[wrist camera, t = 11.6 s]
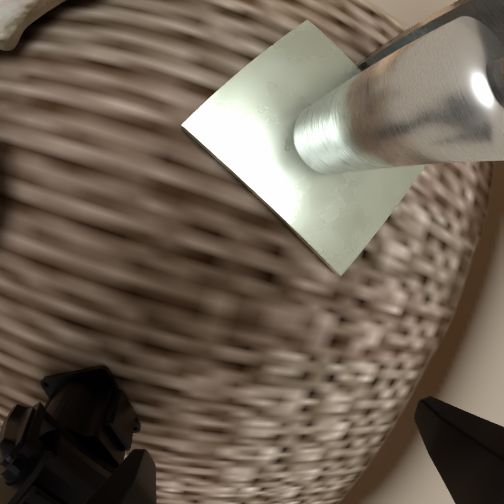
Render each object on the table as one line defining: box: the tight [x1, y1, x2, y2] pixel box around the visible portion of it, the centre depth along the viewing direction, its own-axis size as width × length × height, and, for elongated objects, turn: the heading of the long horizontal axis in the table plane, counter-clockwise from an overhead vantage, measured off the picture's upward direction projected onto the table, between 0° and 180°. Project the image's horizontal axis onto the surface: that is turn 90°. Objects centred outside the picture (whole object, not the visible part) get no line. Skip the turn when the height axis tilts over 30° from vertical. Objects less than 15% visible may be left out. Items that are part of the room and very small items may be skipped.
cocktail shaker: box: [293, 16, 504, 175], centre depth 11 cm, size 5×5×14 cm
